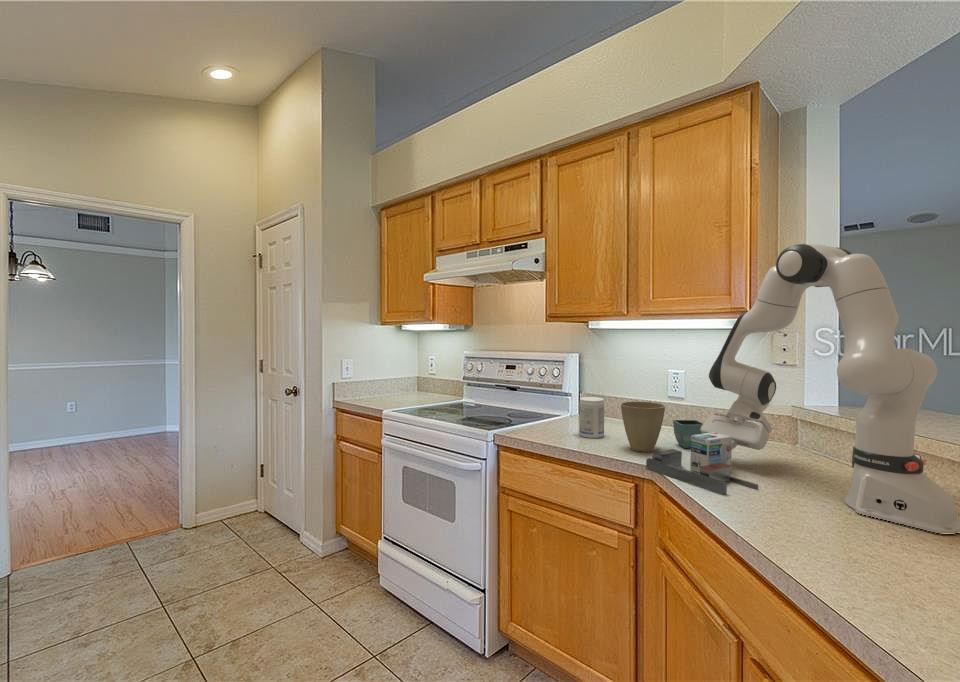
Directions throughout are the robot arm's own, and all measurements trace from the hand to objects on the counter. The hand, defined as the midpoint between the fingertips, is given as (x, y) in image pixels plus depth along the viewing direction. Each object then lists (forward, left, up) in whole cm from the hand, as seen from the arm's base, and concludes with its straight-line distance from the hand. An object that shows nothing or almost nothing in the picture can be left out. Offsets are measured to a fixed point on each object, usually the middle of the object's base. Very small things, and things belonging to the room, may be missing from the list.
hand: (721, 452), depth 154 cm
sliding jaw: (-9, +15, -5) cm, 18 cm away
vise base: (-4, +15, -5) cm, 16 cm away
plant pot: (+27, +6, -5) cm, 28 cm away
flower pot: (+22, -12, -5) cm, 26 cm away
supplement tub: (+51, +8, -5) cm, 52 cm away
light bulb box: (-1, +6, -5) cm, 8 cm away
